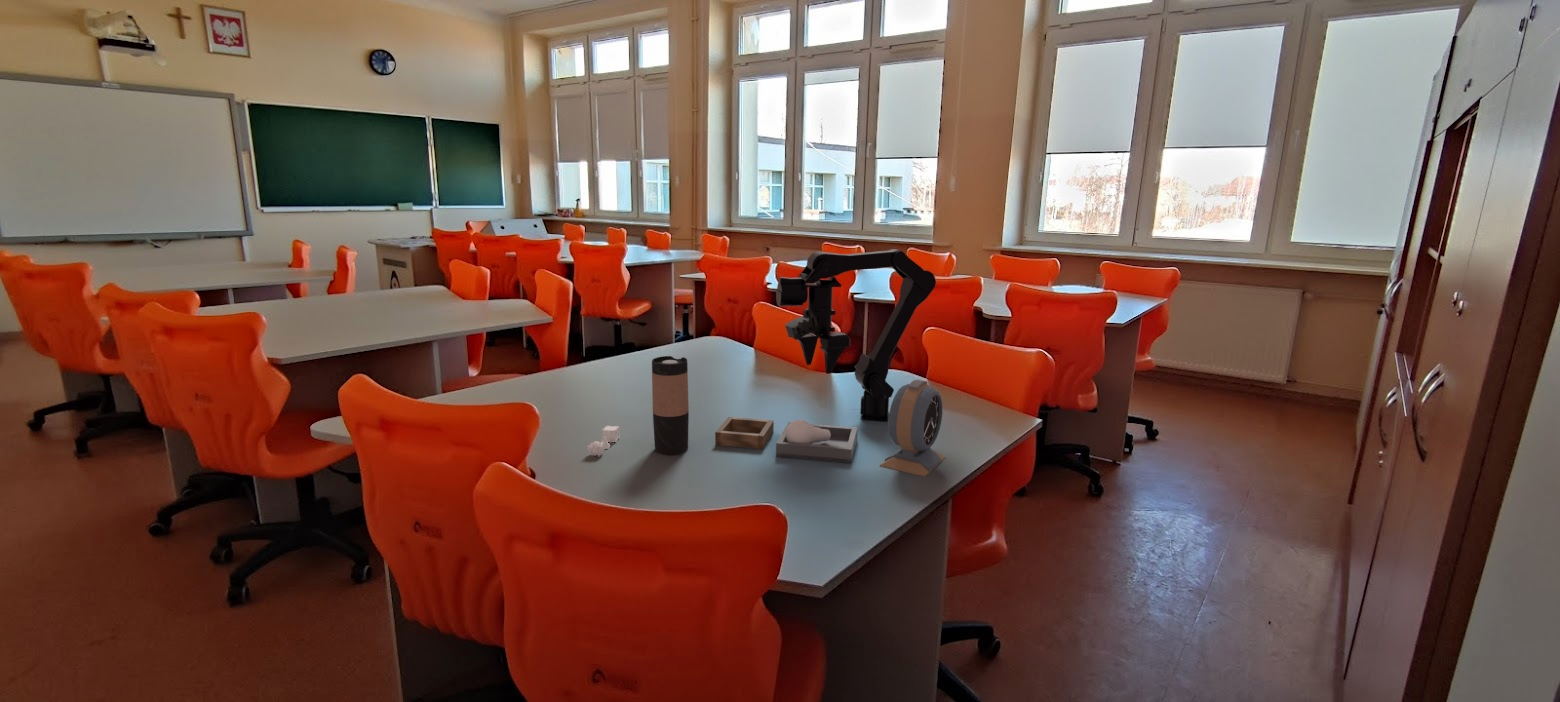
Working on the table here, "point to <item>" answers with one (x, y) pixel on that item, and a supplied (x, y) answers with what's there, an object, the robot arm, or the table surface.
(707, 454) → the table surface
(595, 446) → the game pieces
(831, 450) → the tray
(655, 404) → the travel mug
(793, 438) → the lightbulb
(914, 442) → the alarm clock
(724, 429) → the socket block
